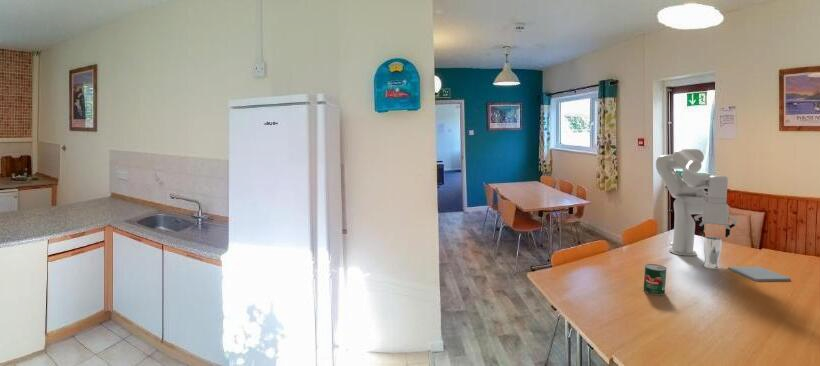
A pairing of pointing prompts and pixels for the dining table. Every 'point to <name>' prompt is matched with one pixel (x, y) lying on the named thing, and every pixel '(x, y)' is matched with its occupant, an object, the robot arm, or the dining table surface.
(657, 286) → the canned tomato
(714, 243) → the beer glass
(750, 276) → the grey mat
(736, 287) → the dining table surface
